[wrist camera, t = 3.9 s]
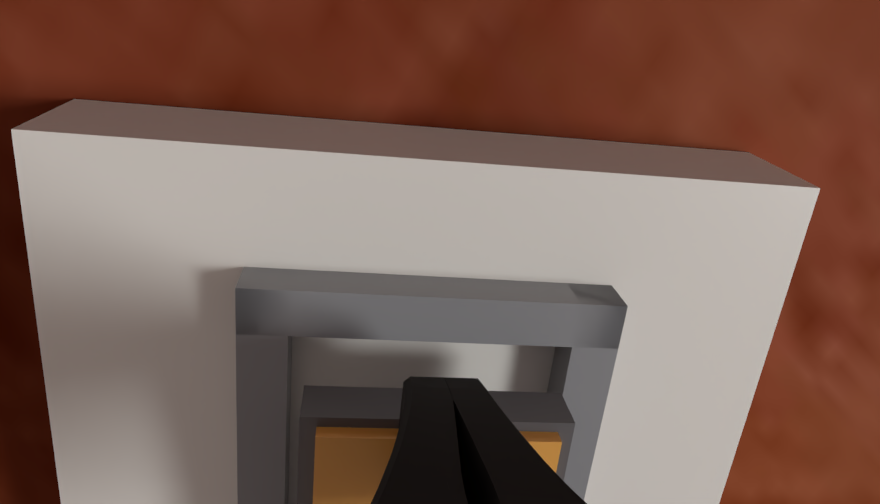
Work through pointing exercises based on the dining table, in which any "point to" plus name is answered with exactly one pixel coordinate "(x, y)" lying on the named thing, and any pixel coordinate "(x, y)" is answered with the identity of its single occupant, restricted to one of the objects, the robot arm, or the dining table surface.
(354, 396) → the breaker rocker
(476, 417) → the robot arm
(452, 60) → the dining table surface
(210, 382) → the rocker switch base
